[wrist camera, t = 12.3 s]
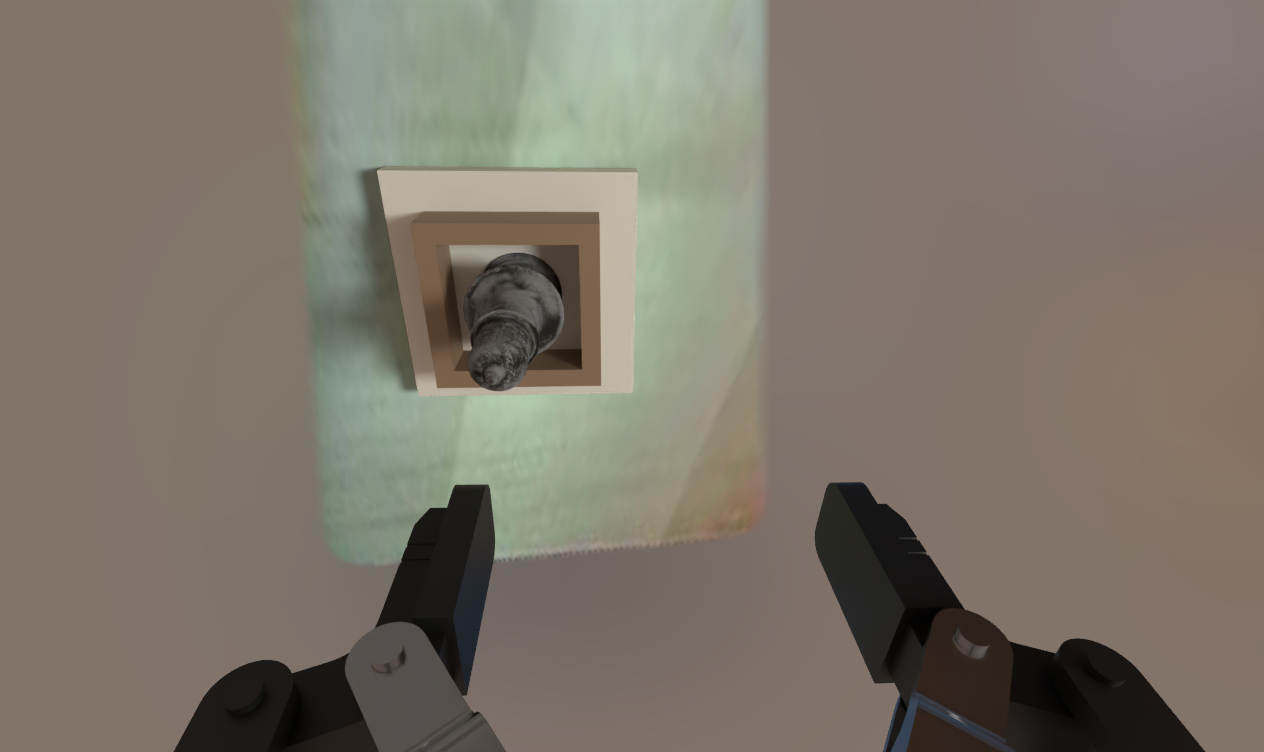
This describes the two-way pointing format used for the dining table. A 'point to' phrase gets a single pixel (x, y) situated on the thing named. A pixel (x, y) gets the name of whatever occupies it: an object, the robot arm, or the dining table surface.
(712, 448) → the dining table surface
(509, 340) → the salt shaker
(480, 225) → the shaker stand
